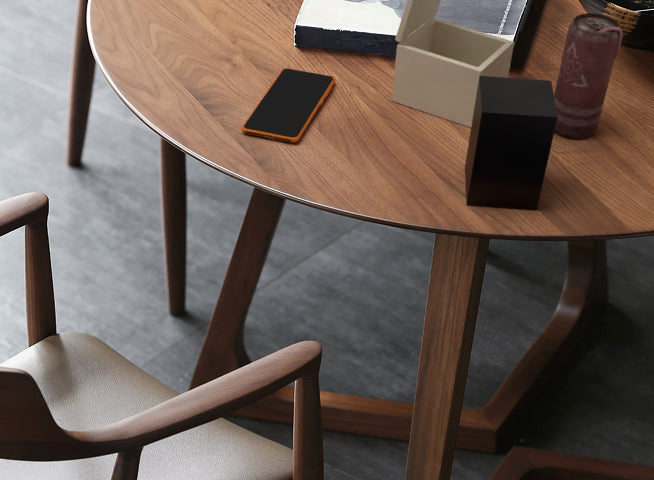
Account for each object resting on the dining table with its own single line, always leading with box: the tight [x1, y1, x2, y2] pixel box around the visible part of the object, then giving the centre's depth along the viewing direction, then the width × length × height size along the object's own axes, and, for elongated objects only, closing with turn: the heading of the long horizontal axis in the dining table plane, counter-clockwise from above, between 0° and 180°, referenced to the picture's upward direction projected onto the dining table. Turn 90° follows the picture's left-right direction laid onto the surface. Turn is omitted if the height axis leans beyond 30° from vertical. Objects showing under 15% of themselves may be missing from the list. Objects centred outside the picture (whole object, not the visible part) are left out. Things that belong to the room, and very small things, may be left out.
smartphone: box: [241, 67, 336, 143], centre depth 137 cm, size 8×17×1 cm, turn 162°
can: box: [553, 12, 624, 140], centre depth 131 cm, size 6×6×14 cm
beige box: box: [391, 17, 515, 129], centre depth 138 cm, size 12×10×8 cm
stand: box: [464, 76, 557, 211], centre depth 121 cm, size 8×8×12 cm
